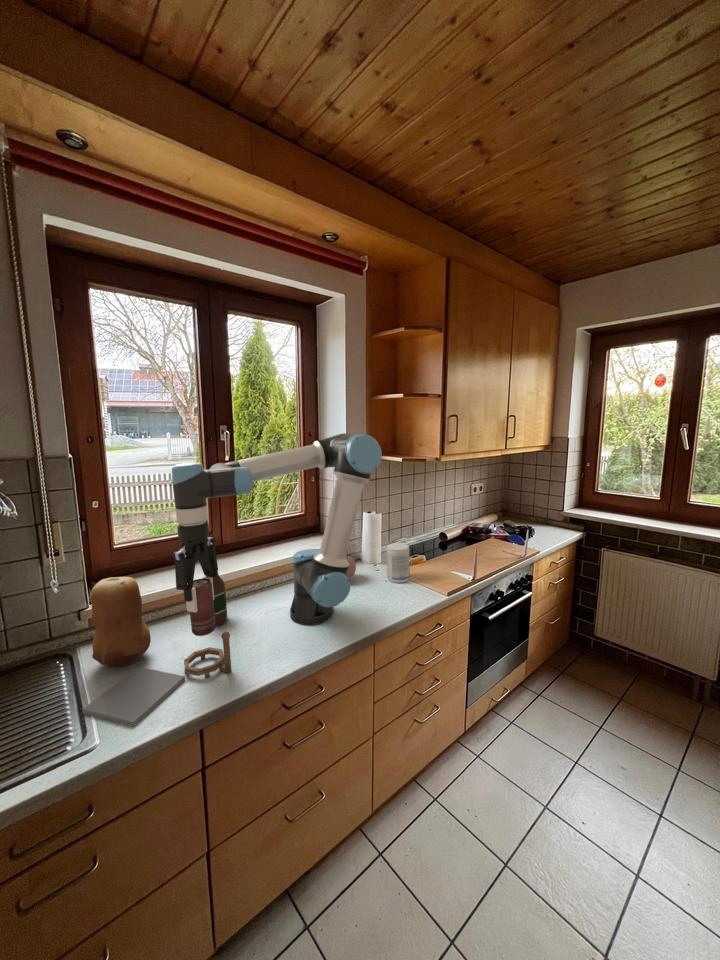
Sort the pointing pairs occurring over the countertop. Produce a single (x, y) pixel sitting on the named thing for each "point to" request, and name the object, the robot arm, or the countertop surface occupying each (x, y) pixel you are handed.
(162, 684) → the plate
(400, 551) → the supplement tub
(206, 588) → the can
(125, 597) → the butternut squash
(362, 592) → the countertop surface
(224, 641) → the ring stand
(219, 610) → the beer bottle
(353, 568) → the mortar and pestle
